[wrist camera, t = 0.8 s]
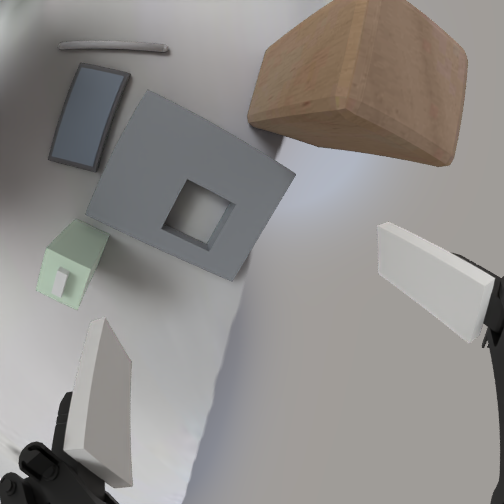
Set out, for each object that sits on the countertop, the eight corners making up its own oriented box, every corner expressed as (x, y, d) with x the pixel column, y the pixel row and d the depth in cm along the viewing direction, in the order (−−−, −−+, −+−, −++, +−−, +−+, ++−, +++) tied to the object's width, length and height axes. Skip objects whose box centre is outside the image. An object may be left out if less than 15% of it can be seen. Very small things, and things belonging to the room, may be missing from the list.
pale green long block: (64, 252, 30) (32, 294, 21) (75, 218, 29) (43, 251, 20) (96, 267, 32) (75, 315, 23) (109, 234, 31) (88, 273, 22)
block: (242, 125, 31) (340, 112, 13) (265, 46, 28) (370, -30, 10) (321, 149, 34) (455, 174, 16) (340, 76, 31) (473, 53, 13)
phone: (50, 159, 26) (47, 159, 25) (82, 64, 23) (80, 62, 22) (96, 171, 28) (94, 172, 27) (130, 74, 25) (129, 72, 24)
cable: (58, 50, 21) (55, 48, 21) (60, 43, 21) (58, 41, 20) (167, 53, 25) (167, 51, 25) (169, 46, 25) (169, 43, 24)
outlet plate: (90, 209, 29) (85, 214, 27) (149, 93, 27) (147, 89, 25) (228, 272, 37) (232, 281, 34) (288, 171, 34) (296, 174, 32)
